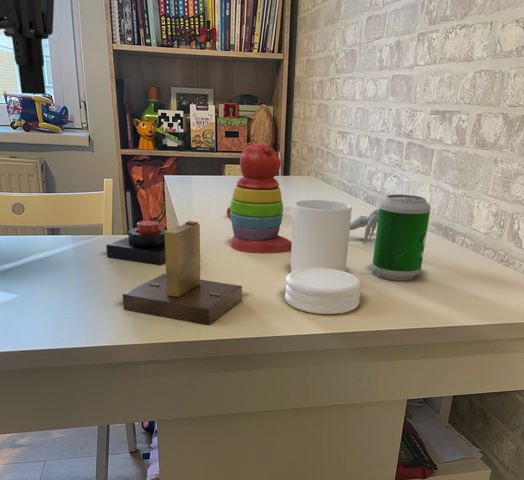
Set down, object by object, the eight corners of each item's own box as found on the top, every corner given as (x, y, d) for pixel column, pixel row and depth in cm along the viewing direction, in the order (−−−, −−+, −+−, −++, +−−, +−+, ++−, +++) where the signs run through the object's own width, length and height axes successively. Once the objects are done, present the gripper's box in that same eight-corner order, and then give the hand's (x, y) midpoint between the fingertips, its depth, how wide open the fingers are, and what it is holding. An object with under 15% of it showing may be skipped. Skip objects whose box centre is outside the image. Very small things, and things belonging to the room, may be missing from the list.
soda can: (416, 284, 84) (429, 203, 79) (367, 278, 86) (376, 199, 81) (421, 271, 91) (433, 196, 86) (375, 265, 93) (384, 191, 88)
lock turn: (178, 297, 69) (176, 230, 66) (166, 295, 70) (164, 229, 66) (200, 284, 74) (199, 221, 71) (189, 282, 75) (188, 220, 71)
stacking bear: (297, 250, 100) (303, 145, 93) (250, 257, 95) (253, 146, 88) (263, 237, 108) (266, 140, 101) (218, 243, 103) (218, 141, 96)
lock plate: (123, 309, 70) (122, 292, 69) (164, 287, 79) (163, 272, 78) (208, 325, 67) (208, 308, 66) (242, 300, 75) (242, 284, 74)
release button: (133, 234, 92) (132, 223, 91) (145, 230, 95) (144, 219, 94) (152, 236, 91) (151, 226, 90) (163, 232, 94) (163, 222, 93)
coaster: (372, 311, 73) (376, 286, 71) (302, 318, 69) (304, 292, 68) (338, 288, 81) (340, 264, 80) (274, 293, 78) (275, 269, 76)
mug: (334, 261, 95) (340, 196, 90) (350, 282, 84) (358, 210, 79) (283, 260, 94) (287, 195, 89) (294, 282, 83) (298, 209, 79)
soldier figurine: (330, 252, 110) (390, 237, 104) (323, 225, 108) (383, 209, 102) (339, 245, 115) (396, 231, 109) (332, 219, 113) (390, 204, 108)
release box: (107, 257, 92) (105, 233, 90) (140, 244, 100) (139, 222, 99) (160, 265, 88) (159, 241, 87) (190, 251, 97) (189, 228, 95)
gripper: (-12, -154, 58) (20, 93, 68) (69, -113, 70) (87, 95, 79) (-66, -147, 61) (-27, 91, 71) (21, -108, 72) (44, 93, 82)
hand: (33, 93), depth 75 cm, fingers closed
